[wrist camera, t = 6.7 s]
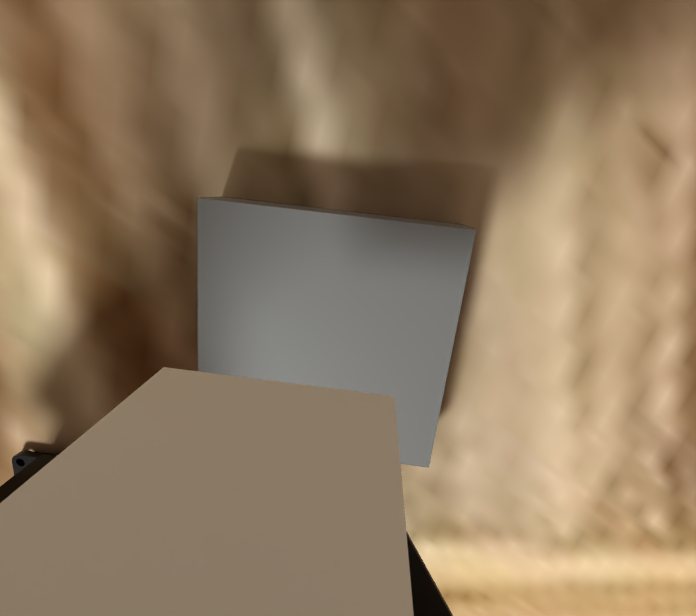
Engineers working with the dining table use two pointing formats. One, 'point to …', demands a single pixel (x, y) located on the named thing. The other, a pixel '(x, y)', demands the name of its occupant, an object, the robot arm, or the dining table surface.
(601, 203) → the dining table surface
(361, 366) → the grey square slab
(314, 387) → the cream block
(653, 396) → the dining table surface
